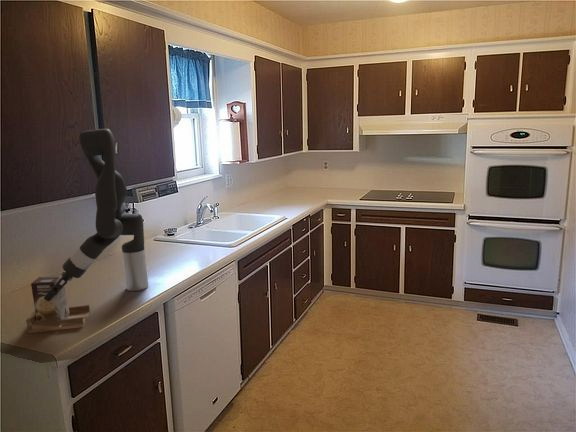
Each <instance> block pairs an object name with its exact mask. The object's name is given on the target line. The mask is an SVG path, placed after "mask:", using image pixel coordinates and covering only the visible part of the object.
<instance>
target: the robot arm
mask: <svg viewBox="0 0 576 432" xmlns="http://www.w3.org/2000/svg"><path fill="white" fill-rule="evenodd" d="M78 139H79V145H80V148H81V151H82V153H83V154H84V156H85V158H86V160H87V162H88V164H89V165H90V167H91V169H92V172H93V174H94V176H95V178H96V183H95V186H94V195H95V196H94V197H95V206H96V213H95V230H96V233H95V234H93V235H91V236H89V237H88V238H87V239H85V241H84V242H83V243H82V244H81V245H80V246H79V247H78V248H77V249H75V251H74V252H73V253H72V254H71V255H70V256H69V257H68V259H66V260H65V262H64V263H63V264H62V265H61V266H62V269H63V272H61V274H60V275H59V276H58V277H59V279H58V280H57V281H56V283H54V287H53V288H51V289H50V292H49V293H48V294H47V295H46V296H45V297H44V299H45V300H46V301H48V302H49V301H50V300H51V299H52V298H53V297H54V296H55V295H56V294H58V292H59V291H60V290H62V289H63V288H64V287H65V288H66V286H67V285H68V284H69V283H71V281H72V280H73V279H80V278H82V276H83V275H84V274H85V273H86V272H87V271H88V269H90V267H91V266H92V265H93V264H94V262H95V261H96V260H97V258H98V257H100V255H101V254H102V253H103V252H104V250H105V249H106V248H108V247H109V246H110V245H111V244H113V243H114V242H115V241H116V240H117V239H118V238H119V237H120V236H133V239H132V240H129V241H126V242H124V243H122V245H121V252H122V261H123V269H124V278H125V288H126V290H127V291H131V292H136V291H143V290H145V289H147V288H148V287H149V279H148V278H149V277H148V270H147V260H146V251H145V232H144V230H145V228H144V219H143V217H142V215H141V214H140V213H125V212H123V210H122V207H123V204H124V202H125V200H126V198H127V194H128V188H127V185H126V183H125V180H124V178H123V176H122V175H121V173H120V172H118V171H117V170H116V145H115V144H116V141H115V137H114V134H113V132H112V131H111V130H110V129H109V128H98V129H90V130H89V129H87V130H83V131H81V132H80V133H79V134H78ZM101 156H104V160H103V159H102V158H101ZM55 287H56V288H58V289H59V290H58V291H57V290H55V289H54V288H55Z"/></svg>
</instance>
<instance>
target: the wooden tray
mask: <svg viewBox="0 0 576 432" xmlns="http://www.w3.org/2000/svg"><path fill="white" fill-rule="evenodd" d="M90 308H91V307H90V304H82V305H73V306H69V307H68V316H69V317H68V318H67V319H61V324H60V319H59V318H58V319H49V320H40V321H37V320H36V314H35V309H34V310H33V311H32V312H31V314H30V315H29V316H28V317H27V318H26V321H25V322H26V327H27V333H28V334H34V333H44V332H51V331H59V330H61V331H62V330H67V329H78V328H84V326H85V324H86V322H87V321H88V319H89V317H90V314H91V309H90Z"/></svg>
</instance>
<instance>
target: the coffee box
mask: <svg viewBox="0 0 576 432" xmlns="http://www.w3.org/2000/svg"><path fill="white" fill-rule="evenodd" d="M58 279H59V276H39V277H37V278H36V279H34V280H33V281H32V282H31V283H30V285H31V286H30V287H31V291H32V298H33V299H32V300H33V305H34V310H35V314H36V320H37V321H40V320H49V319H58V318H59V319H60V324H61V319H67V318H68V317H69V316H68V313H69V307H68V302H67V296H66V286H65V287H64V288H63V289H62V290H60V291H59V292H58V294H56V295H55V296H54V297H53V298H52V299H51V300H50V301H49V302H48V301H46V300H45V299H44V297H45V296H46V295H47V294H48V293H49V292H50V289H51V288H53V287H54V283H56V281H57V280H58ZM54 289H55V290H57V291H58V290H59V289H58V288H56V287H55V288H54Z"/></svg>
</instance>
